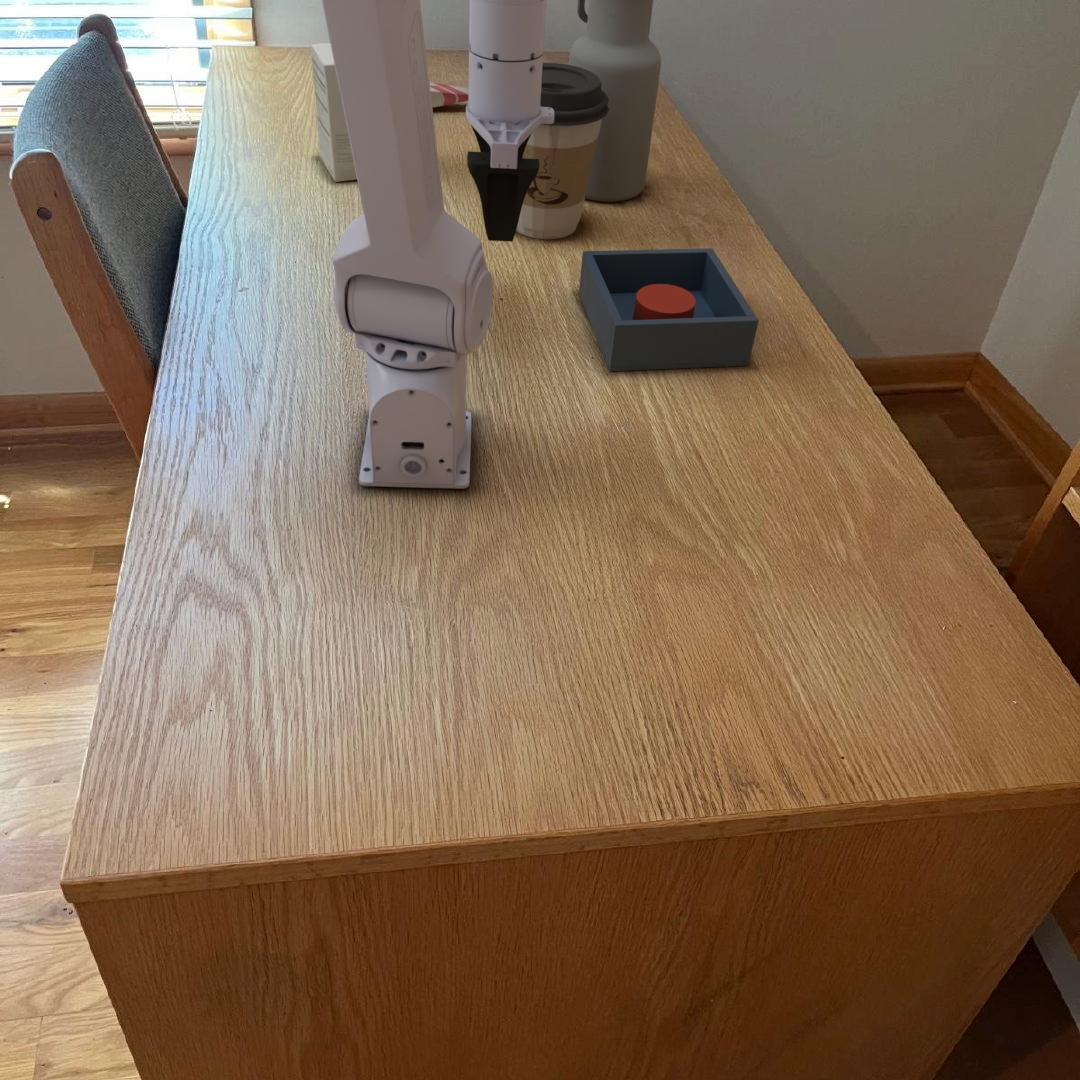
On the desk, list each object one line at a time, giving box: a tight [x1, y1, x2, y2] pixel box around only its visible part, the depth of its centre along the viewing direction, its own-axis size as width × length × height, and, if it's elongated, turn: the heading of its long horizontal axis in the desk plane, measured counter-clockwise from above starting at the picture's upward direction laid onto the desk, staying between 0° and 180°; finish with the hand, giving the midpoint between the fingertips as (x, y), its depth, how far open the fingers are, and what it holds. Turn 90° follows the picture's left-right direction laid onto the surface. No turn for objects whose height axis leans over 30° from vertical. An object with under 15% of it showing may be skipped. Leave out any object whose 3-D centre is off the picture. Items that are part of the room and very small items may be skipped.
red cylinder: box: [633, 284, 696, 320], centre depth 93 cm, size 5×5×3 cm
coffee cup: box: [516, 62, 609, 240], centre depth 104 cm, size 11×11×15 cm
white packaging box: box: [309, 42, 357, 183], centre depth 113 cm, size 7×7×13 cm
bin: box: [578, 247, 760, 372], centre depth 93 cm, size 14×13×4 cm
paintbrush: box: [429, 81, 469, 109], centre depth 132 cm, size 4×3×20 cm
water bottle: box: [568, 0, 662, 203], centre depth 108 cm, size 10×10×28 cm
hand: (500, 219), depth 88 cm, fingers open, 7 cm apart
